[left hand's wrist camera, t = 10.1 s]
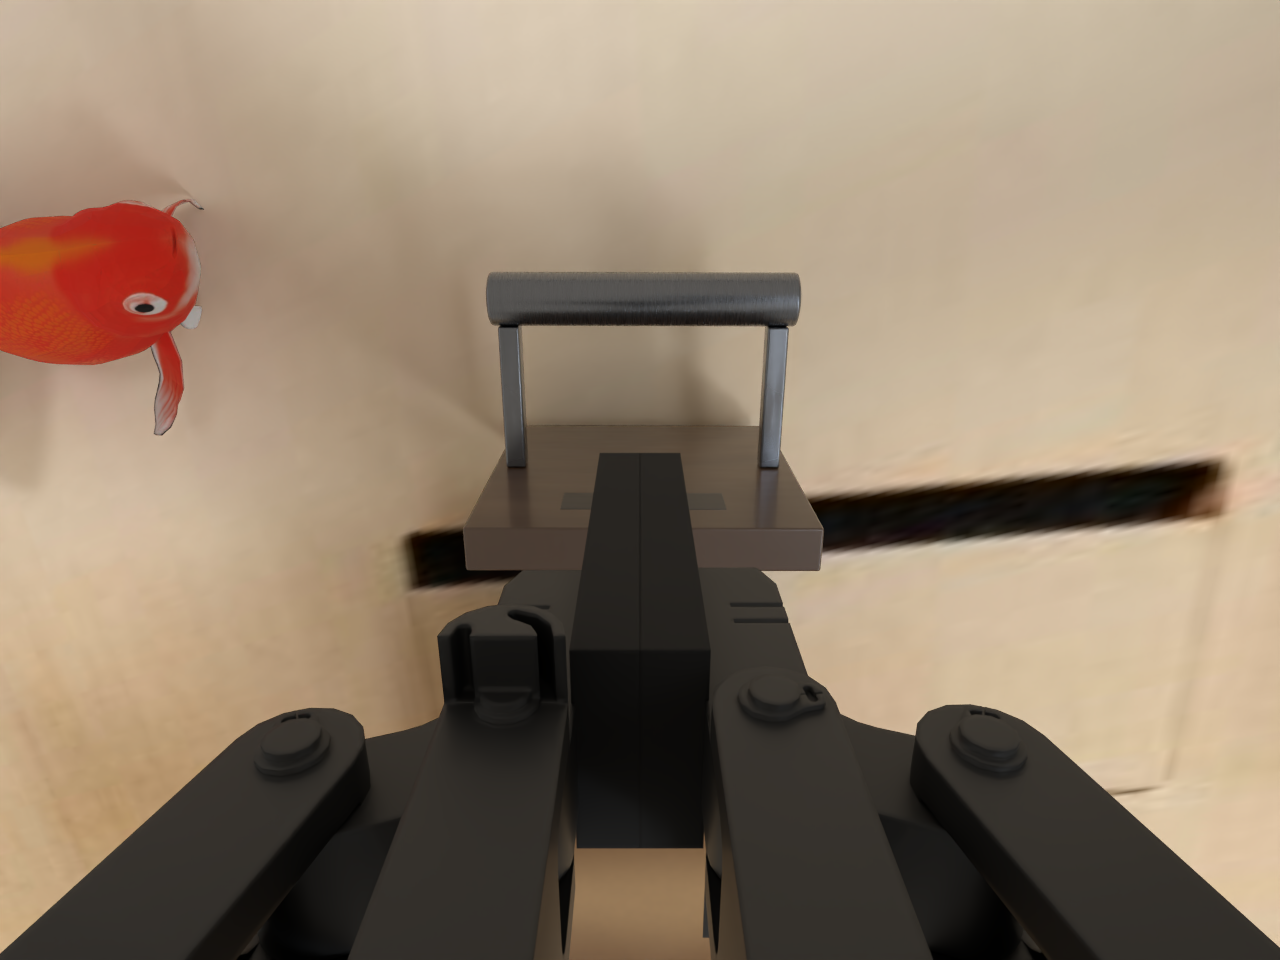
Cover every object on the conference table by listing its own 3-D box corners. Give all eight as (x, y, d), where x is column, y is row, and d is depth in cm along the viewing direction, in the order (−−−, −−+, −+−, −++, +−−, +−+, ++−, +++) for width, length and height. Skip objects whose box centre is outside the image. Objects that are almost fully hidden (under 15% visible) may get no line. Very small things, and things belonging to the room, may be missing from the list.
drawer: (507, 259, 26) (442, 292, 17) (778, 260, 26) (846, 293, 17) (539, 832, 34) (506, 1043, 26) (741, 832, 34) (775, 1043, 26)
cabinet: (517, 619, 32) (457, 828, 21) (765, 619, 32) (827, 829, 21) (538, 969, 39) (501, 1256, 28) (741, 970, 39) (779, 1256, 28)
